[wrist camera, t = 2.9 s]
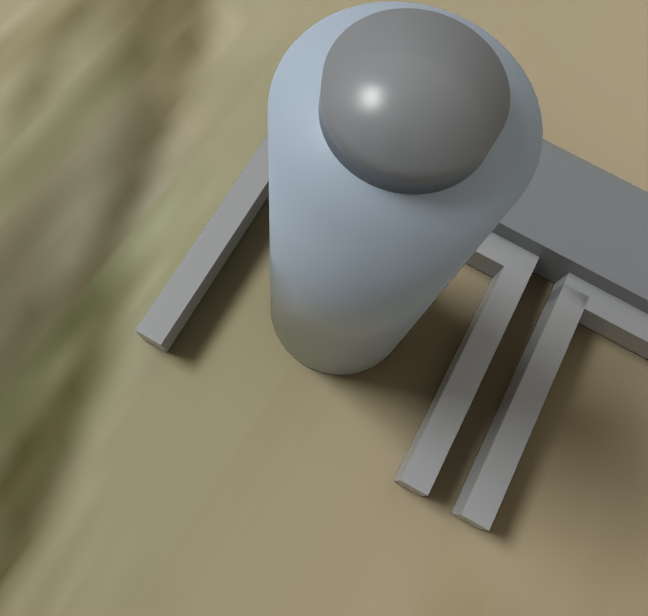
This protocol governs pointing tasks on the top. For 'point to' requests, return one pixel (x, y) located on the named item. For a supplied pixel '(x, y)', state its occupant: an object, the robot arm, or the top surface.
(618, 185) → the parallel gray bars
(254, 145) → the top surface
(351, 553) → the top surface
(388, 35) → the pale blue cylinder
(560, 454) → the top surface
